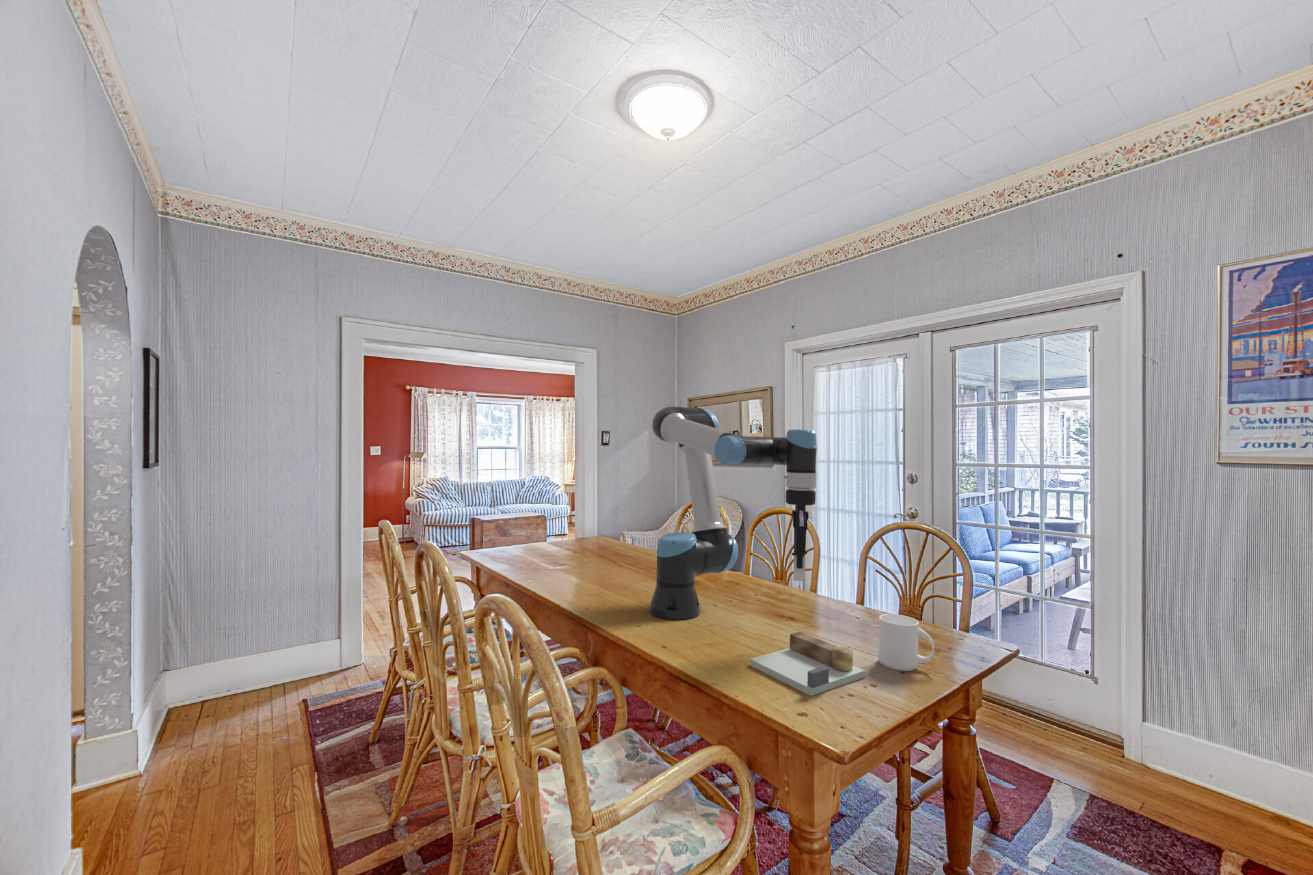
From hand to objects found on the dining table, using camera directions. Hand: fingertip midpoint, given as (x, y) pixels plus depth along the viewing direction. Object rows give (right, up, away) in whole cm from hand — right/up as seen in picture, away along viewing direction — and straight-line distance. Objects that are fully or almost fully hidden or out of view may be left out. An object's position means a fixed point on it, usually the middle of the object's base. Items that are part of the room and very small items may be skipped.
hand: (798, 580), depth 143 cm
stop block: (-3, -15, -27) cm, 31 cm away
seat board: (-3, -16, -17) cm, 24 cm away
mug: (+22, -17, -12) cm, 31 cm away
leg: (+2, -15, -14) cm, 20 cm away
